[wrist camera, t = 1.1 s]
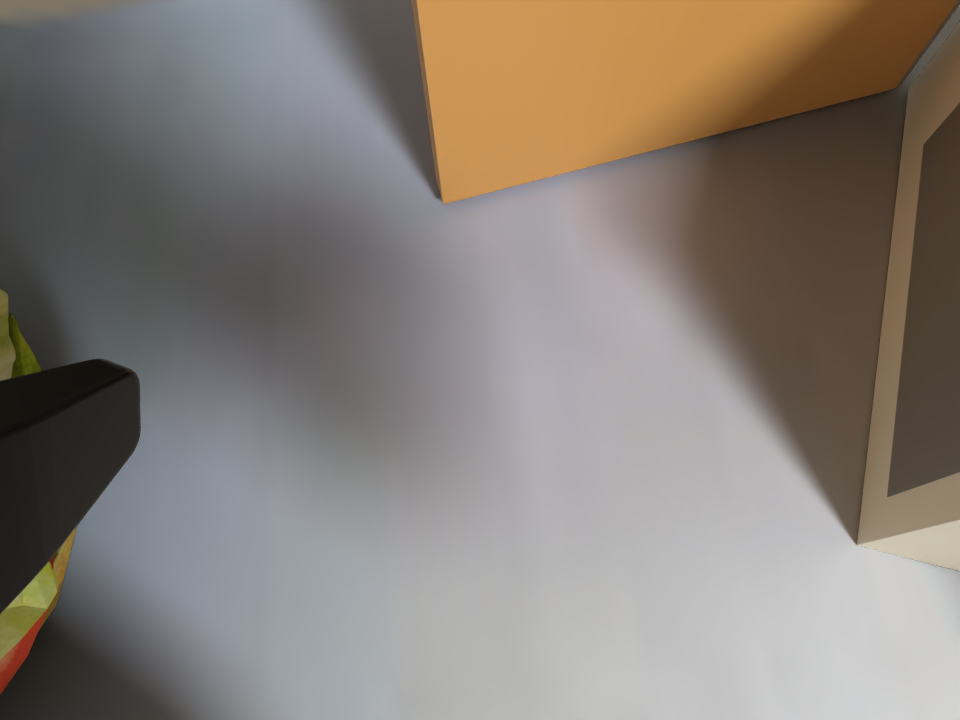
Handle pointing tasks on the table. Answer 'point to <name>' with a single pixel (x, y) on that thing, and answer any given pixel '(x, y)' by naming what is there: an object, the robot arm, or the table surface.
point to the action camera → (921, 337)
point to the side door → (641, 74)
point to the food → (13, 631)
